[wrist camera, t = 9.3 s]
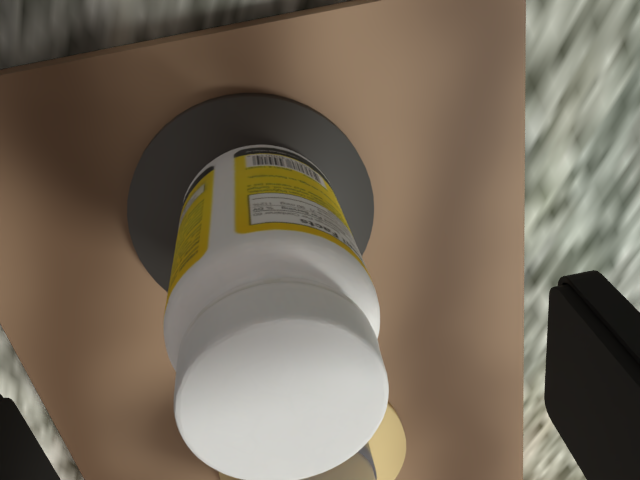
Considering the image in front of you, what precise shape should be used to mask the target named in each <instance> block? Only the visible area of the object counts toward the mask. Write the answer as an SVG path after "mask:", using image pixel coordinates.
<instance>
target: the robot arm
mask: <svg viewBox="0 0 640 480" xmlns="http://www.w3.org/2000/svg"><path fill="white" fill-rule="evenodd" d="M544 399H545V406H546V409H547V412H548V415H549V417H550V419H551V421H552V423H553V424H554V426H555V427H556V429H557V431H558V432H559V434H560V436H561V437H562V439H563V441H564V442H565V444H566V446H567V447H568V449H569V451H570V452H571V454H572V456H573V457H574V459H575V461H576V462H577V464H578V466H579V467H580V469H581V470H582V472H583V474H584V475H585V477H586V479H587V480H640V312H639V311H638V310H637V309H636V308H635V307H634V306H633V305H632V304H631V303H630V302H629V301H628V300H627V299H626V298H625V297H624V296H623V295H622V294H621V293H620V292H619V291H618V290H617V289H616V288H615V287H614V286H613V285H612V284H611V283H610V282H609V281H608V280H607V279H606V278H605V277H604V276H603V275H602V274H601V273H599V272H598V271H594V270H593V271H588V272H583V273H578V274H573V275H568V276H563V277H561V278H560V280H559V282H558V286H556V287H553V288H551V290H550V293H549V311H548V332H547V353H546V374H545V394H544ZM0 480H60V478H59V476H58V475H57V473H56V471H55V470H54V468H53V466H52V465H51V463H50V461H49V460H48V458H47V456H46V455H45V453H44V451H43V450H42V448H41V446H40V445H39V443H38V441H37V440H36V438H35V436H34V435H33V433H32V431H31V430H30V428H29V426H28V425H27V423H26V421H25V420H24V418H23V416H22V415H21V413H20V411H19V410H18V408H17V406H16V405H15V403H14V402H13V401H12V400H11V399H10V398H3V397H2V395H1V394H0Z"/></svg>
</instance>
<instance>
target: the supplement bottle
mask: <svg viewBox="0 0 640 480" xmlns="http://www.w3.org/2000/svg"><path fill="white" fill-rule="evenodd" d="M163 329H164V340H165V345H166V350H167V353H168V357H169V360H170V362H171V364H172V366H173V368H174V370H175V371H176V378H175V389H174V416H175V420H176V424H177V427H178V430H179V432H180V434H181V436H182V438H183V440H184V441H185V443H186V445H187V446H188V447H189V449H190V450H191V451H192V452H193V453H194V454H195V455H196V456H197V457H198V458H199V459H200V460H202V461H203V462H204V463H205V464H207V465H208V466H210V467H212V468H214V469H216V470H217V471H219V472H221V473H223V474H226V475H229V476H231V477H234V478H238V479H243V480H300V479H304V478H308V477H311V476H314V475H317V474H320V473H323V472H326V471H328V470H330V469H332V468H334V467H336V466H338V465H340V464H341V463H343V462H345V461H346V460H348V459H349V458H350V457H352V456H353V455H355V454H356V453H357V452H358V451H359V450H360V449H361V448H362V447H364V445H365V444H366V443H367V442H368V441H369V440H370V439H371V437H372V436H373V434H374V433H375V432H376V430H377V429H378V427H379V425H380V423H381V421H382V420H383V417H384V415H385V412H386V409H387V403H388V395H389V384H388V378H387V372H386V369H385V366H384V363H383V359H382V356H381V353H380V349H379V344H378V340H377V339H378V335H379V330H380V307H379V302H378V298H377V294H376V290H375V287H374V284H373V282H372V280H371V277H370V275H369V272H368V270H367V268H366V266H365V263H364V261H363V259H362V256H361V254H360V252H359V249H358V247H357V245H356V242H355V240H354V238H353V235H352V233H351V231H350V228H349V226H348V224H347V221H346V219H345V217H344V215H343V212H342V210H341V208H340V205H339V203H338V201H337V198H336V196H335V193H334V191H333V189H332V187H331V185H330V183H329V181H328V180H327V178H326V177H325V176H324V174H323V173H322V172H321V171H320V170H319V169H318V168H317V167H316V166H315V165H314V164H313V163H312V162H311V161H309V160H308V159H307V158H305V157H303V156H302V155H300V154H298V153H296V152H294V151H292V150H289V149H286V148H283V147H278V146H273V145H250V146H244V147H240V148H236V149H233V150H231V151H228V152H226V153H224V154H222V155H220V156H219V157H217V158H215V159H214V160H213V161H211V162H210V163H209V164H207V165H206V166H205V167H204V168H203V169H202V170H201V171H200V172H199V173H198V174H197V176H196V177H195V178H194V180H193V181H192V183H191V184H190V186H189V188H188V190H187V192H186V194H185V197H184V201H183V205H182V210H181V216H180V221H179V228H178V234H177V240H176V246H175V252H174V259H173V265H172V270H171V276H170V282H169V289H168V294H167V301H166V306H165V312H164V322H163Z"/></svg>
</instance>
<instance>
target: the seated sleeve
mask: <svg viewBox="0 0 640 480" xmlns="http://www.w3.org/2000/svg"><path fill="white" fill-rule="evenodd" d="M300 480H377V474H376V469H375V465H374V462H373V458H372V454H371V450H370V447H369V443H368V442H367V443H366V444H365V445H364V447H362V448H361V449H360V450H359V451H358V452H357V453H356V454H355V455H353V456H352V457H350V458H349V459H348V460H346V461H345V462H343V463H341V464H340V465H338V466H336V467H334V468H332V469H330V470H328V471H326V472H323V473H320V474H317V475H314V476H311V477H308V478H304V479H300Z"/></svg>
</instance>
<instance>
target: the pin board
mask: <svg viewBox="0 0 640 480" xmlns="http://www.w3.org/2000/svg"><path fill="white" fill-rule="evenodd" d="M525 30H526V0H352V1H347V2H342V3H337V4H332V5H327V6H322V7H317V8H311V9H306V10H301V11H296V12H291V13H286V14H281V15H276V16H271V17H266V18H260V19H255V20H250V21H245V22H240V23H235V24H230V25H225V26H220V27H215V28H209V29H204V30H199V31H194V32H189V33H184V34H179V35H174V36H169V37H164V38H158V39H153V40H148V41H143V42H138V43H133V44H128V45H123V46H118V47H113V48H108V49H102V50H97V51H92V52H87V53H82V54H77V55H72V56H67V57H62V58H57V59H51V60H46V61H41V62H36V63H31V64H26V65H21V66H16V67H11V68H6V69H0V324H1V326H2V328H3V330H4V331H5V333H6V335H7V337H8V339H9V341H10V342H11V344H12V346H13V348H14V350H15V352H16V354H17V355H18V357H19V359H20V361H21V363H22V365H23V367H24V368H25V370H26V372H27V374H28V376H29V378H30V380H31V381H32V383H33V385H34V387H35V389H36V391H37V392H38V394H39V396H40V398H41V400H42V402H43V404H44V405H45V407H46V409H47V411H48V413H49V415H50V417H51V418H52V420H53V422H54V424H55V426H56V428H57V429H58V431H59V433H60V435H61V437H62V439H63V441H64V442H65V444H66V446H67V448H68V450H69V452H70V454H71V455H72V457H73V459H74V461H75V463H76V465H77V466H78V468H79V470H80V472H81V474H82V476H83V478H84V479H85V480H243V479H238V478H234V477H231V476H229V475H226V474H223V473H221V472H219V471H217V470H216V469H214V468H212V467H210V466H208V465H207V464H205V463H204V462H203V461H202V460H200V459H199V458H198V457H197V456H196V455H195V454H194V453H193V452H192V451H191V450H190V449H189V447H188V446H187V445H186V443H185V441H184V440H183V438H182V436H181V434H180V432H179V430H178V427H177V424H176V420H175V416H174V389H175V378H176V371H175V370H174V368H173V366H172V364H171V362H170V360H169V357H168V353H167V350H166V345H165V340H164V329H163V322H164V312H165V306H166V301H167V294H168V289H169V282H170V276H171V270H172V265H173V259H174V252H175V246H176V240H177V234H178V228H179V221H180V216H181V210H182V205H183V201H184V197H185V194H186V192H187V190H188V188H189V186H190V184H191V183H192V181H193V180H194V178H195V177H196V176H197V174H198V173H199V172H200V171H201V170H202V169H203V168H204V167H205V166H206V165H207V164H209V163H210V162H211V161H213V160H214V159H215V158H217V157H219V156H220V155H222V154H224V153H226V152H228V151H231V150H233V149H236V148H240V147H244V146H250V145H273V146H278V147H283V148H286V149H289V150H292V151H294V152H296V153H298V154H300V155H302V156H303V157H305V158H307V159H308V160H309V161H311V162H312V163H313V164H314V165H315V166H316V167H317V168H318V169H319V170H320V171H321V172H322V173H323V174H324V176H325V177H326V178H327V180H328V181H329V183H330V185H331V187H332V189H333V191H334V193H335V196H336V198H337V201H338V203H339V205H340V208H341V210H342V212H343V215H344V217H345V219H346V221H347V224H348V226H349V228H350V231H351V233H352V235H353V238H354V240H355V242H356V245H357V247H358V249H359V252H360V254H361V256H362V259H363V261H364V263H365V266H366V268H367V270H368V272H369V275H370V277H371V280H372V282H373V284H374V287H375V290H376V294H377V298H378V302H379V307H380V330H379V335H378V339H377V340H378V344H379V349H380V353H381V356H382V359H383V363H384V366H385V369H386V372H387V378H388V384H389V395H388V403H387V409H386V412H385V415H384V417H383V420H382V421H381V423H380V425H379V427H378V429H377V430H376V432H375V433H374V434H373V436H372V437H371V439H370V440H369V441H368V443H369V447H370V450H371V454H372V458H373V462H374V465H375V469H376V474H377V480H523V358H524V194H525Z"/></svg>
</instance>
